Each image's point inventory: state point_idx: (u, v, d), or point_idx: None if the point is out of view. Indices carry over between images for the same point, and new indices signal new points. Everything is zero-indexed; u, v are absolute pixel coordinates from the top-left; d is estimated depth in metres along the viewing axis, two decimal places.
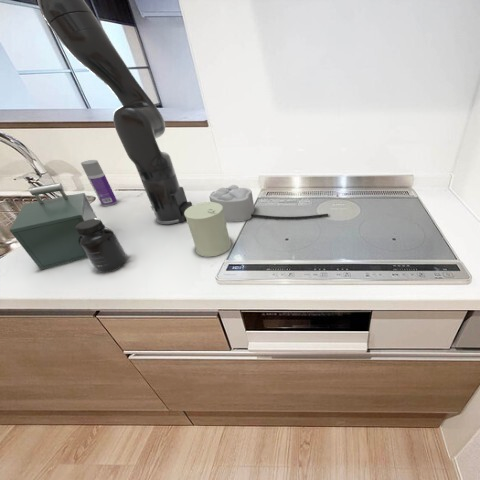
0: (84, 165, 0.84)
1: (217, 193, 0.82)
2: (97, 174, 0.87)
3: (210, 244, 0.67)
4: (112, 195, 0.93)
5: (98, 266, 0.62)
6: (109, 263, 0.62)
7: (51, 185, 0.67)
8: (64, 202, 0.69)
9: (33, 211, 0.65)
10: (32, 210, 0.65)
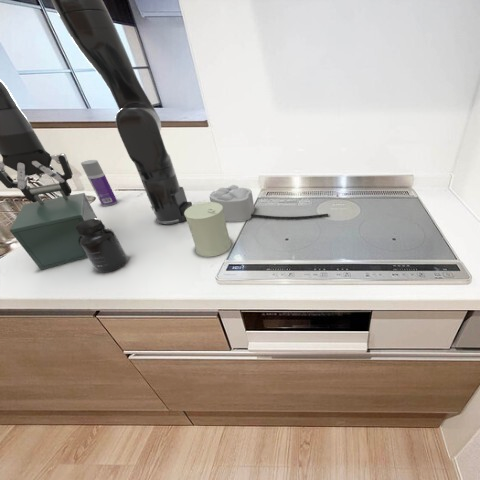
0: (84, 165, 0.84)
1: (217, 193, 0.82)
2: (97, 174, 0.87)
3: (210, 244, 0.67)
4: (112, 195, 0.93)
5: (98, 266, 0.62)
6: (109, 263, 0.62)
7: (51, 185, 0.67)
8: (64, 202, 0.69)
9: (33, 211, 0.65)
10: (32, 210, 0.65)
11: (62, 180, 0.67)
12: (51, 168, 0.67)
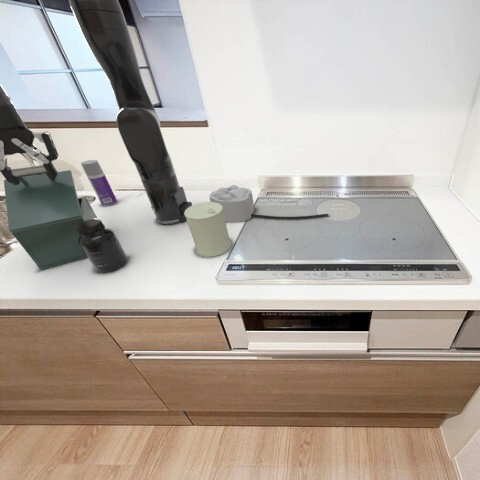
0: (84, 165, 0.84)
1: (217, 193, 0.82)
2: (97, 174, 0.87)
3: (210, 244, 0.67)
4: (112, 195, 0.93)
5: (98, 266, 0.62)
6: (109, 263, 0.62)
7: (36, 169, 0.62)
8: (53, 186, 0.65)
9: (22, 198, 0.62)
10: (20, 196, 0.62)
11: (46, 161, 0.62)
12: (34, 147, 0.61)
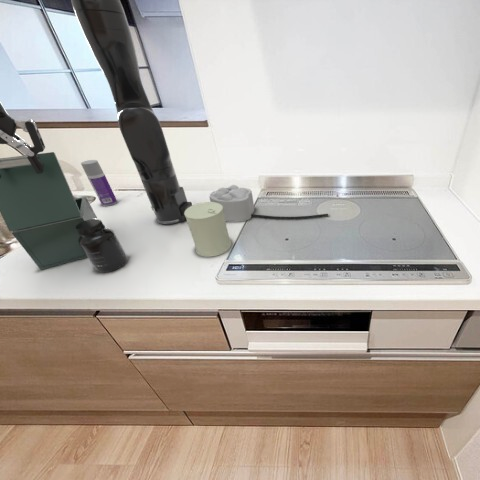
0: (84, 165, 0.84)
1: (217, 193, 0.82)
2: (97, 174, 0.87)
3: (210, 244, 0.67)
4: (112, 195, 0.93)
5: (98, 266, 0.62)
6: (109, 263, 0.62)
7: (20, 162, 0.55)
8: (40, 175, 0.60)
9: (9, 190, 0.57)
10: (5, 187, 0.57)
11: (31, 153, 0.55)
12: (17, 138, 0.54)
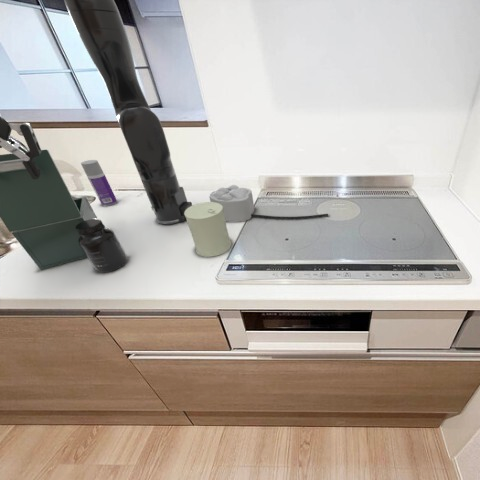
0: (84, 165, 0.84)
1: (217, 193, 0.82)
2: (97, 174, 0.87)
3: (210, 244, 0.67)
4: (112, 195, 0.93)
5: (98, 266, 0.62)
6: (109, 263, 0.62)
7: (15, 167, 0.52)
8: None
9: (4, 191, 0.55)
10: None
11: (27, 158, 0.52)
12: (12, 142, 0.51)
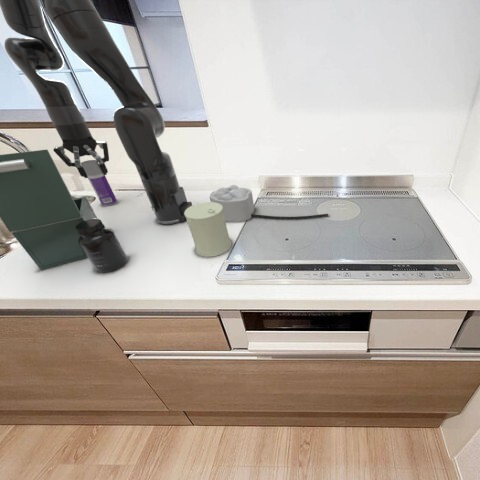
0: (84, 165, 0.84)
1: (217, 193, 0.82)
2: (97, 174, 0.87)
3: (210, 244, 0.67)
4: (112, 195, 0.93)
5: (98, 266, 0.62)
6: (109, 263, 0.62)
7: (15, 167, 0.52)
8: (34, 175, 0.57)
9: (3, 191, 0.55)
10: None
11: (102, 162, 0.87)
12: (94, 152, 0.86)
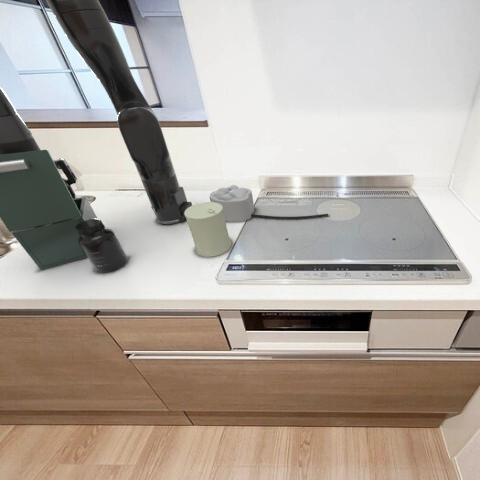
0: None
1: (217, 193, 0.82)
2: None
3: (210, 244, 0.67)
4: None
5: (98, 266, 0.62)
6: (109, 263, 0.62)
7: (15, 167, 0.52)
8: (34, 175, 0.57)
9: (3, 191, 0.55)
10: None
11: (66, 185, 0.66)
12: None
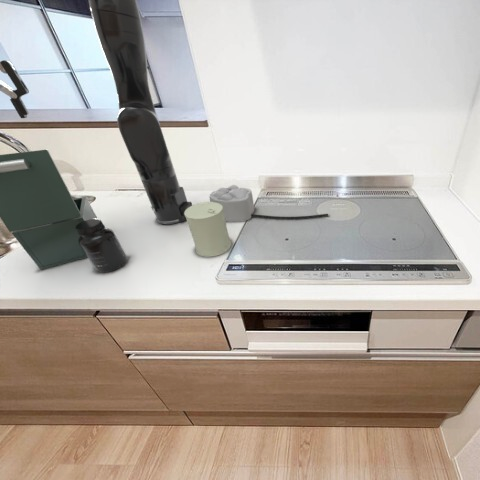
0: None
1: (217, 193, 0.82)
2: None
3: (210, 244, 0.67)
4: None
5: (98, 266, 0.62)
6: (109, 263, 0.62)
7: (15, 167, 0.52)
8: (34, 175, 0.57)
9: (3, 191, 0.55)
10: None
11: (14, 95, 0.55)
12: None
